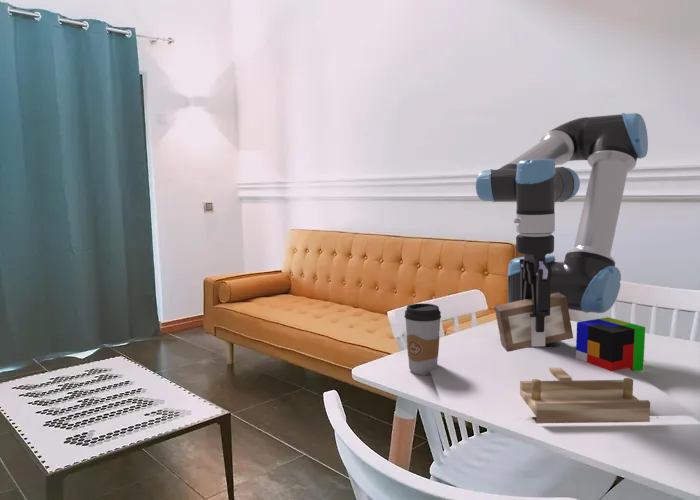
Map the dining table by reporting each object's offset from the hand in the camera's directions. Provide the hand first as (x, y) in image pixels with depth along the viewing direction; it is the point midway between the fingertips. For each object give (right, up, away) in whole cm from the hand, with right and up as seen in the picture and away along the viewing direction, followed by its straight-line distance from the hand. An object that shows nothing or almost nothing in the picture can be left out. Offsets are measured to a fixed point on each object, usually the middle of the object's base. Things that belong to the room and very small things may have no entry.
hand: (534, 341), depth 115 cm
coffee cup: (-23, -8, +9) cm, 26 cm away
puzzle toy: (+20, -8, +9) cm, 24 cm away
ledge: (+4, -11, -14) cm, 18 cm away
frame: (+1, 0, 0) cm, 1 cm away
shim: (+6, -9, 0) cm, 10 cm away
